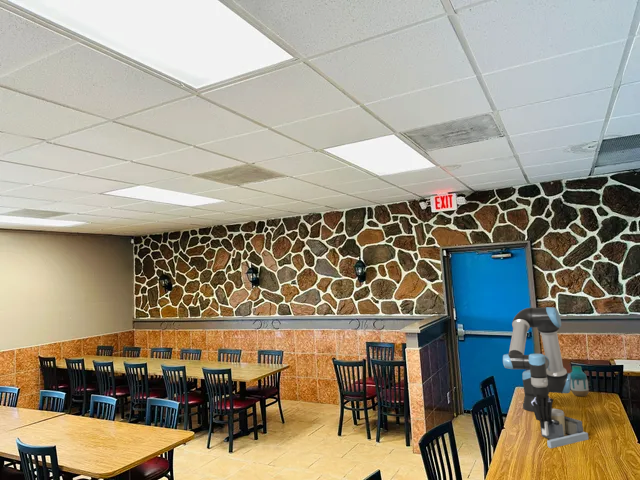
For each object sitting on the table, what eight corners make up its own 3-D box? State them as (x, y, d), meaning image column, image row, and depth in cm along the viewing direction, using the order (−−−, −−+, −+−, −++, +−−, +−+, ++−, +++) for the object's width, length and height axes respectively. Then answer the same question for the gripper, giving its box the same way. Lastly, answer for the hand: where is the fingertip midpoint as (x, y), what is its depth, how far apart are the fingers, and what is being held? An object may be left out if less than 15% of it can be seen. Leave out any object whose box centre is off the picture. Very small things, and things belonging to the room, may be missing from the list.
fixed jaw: (559, 432, 224) (557, 416, 225) (565, 431, 225) (563, 415, 226) (578, 439, 214) (576, 422, 215) (584, 437, 215) (581, 421, 216)
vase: (575, 398, 285) (571, 368, 287) (568, 394, 296) (565, 365, 298) (592, 397, 283) (588, 367, 286) (585, 393, 294) (581, 364, 296)
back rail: (547, 447, 207) (546, 440, 207) (585, 438, 215) (584, 431, 215) (551, 448, 205) (550, 441, 205) (588, 439, 213) (587, 432, 213)
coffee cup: (564, 432, 224) (561, 408, 226) (569, 438, 215) (566, 413, 217) (544, 432, 227) (541, 408, 228) (548, 438, 218) (545, 413, 219)
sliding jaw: (541, 435, 220) (539, 416, 221) (547, 434, 222) (544, 415, 223) (559, 442, 210) (557, 421, 211) (565, 441, 211) (562, 420, 212)
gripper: (535, 388, 212) (541, 439, 209) (555, 385, 216) (561, 434, 213) (524, 386, 219) (529, 434, 216) (543, 382, 223) (549, 430, 220)
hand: (545, 434), depth 215 cm, fingers closed
